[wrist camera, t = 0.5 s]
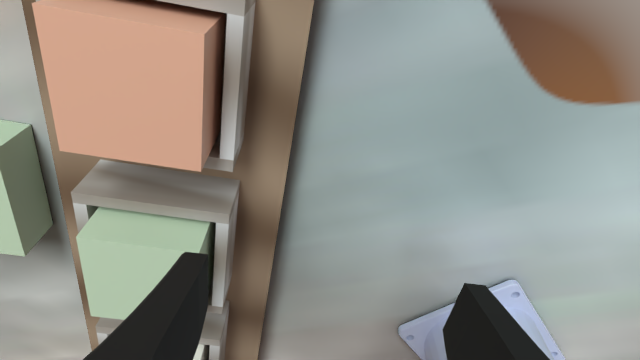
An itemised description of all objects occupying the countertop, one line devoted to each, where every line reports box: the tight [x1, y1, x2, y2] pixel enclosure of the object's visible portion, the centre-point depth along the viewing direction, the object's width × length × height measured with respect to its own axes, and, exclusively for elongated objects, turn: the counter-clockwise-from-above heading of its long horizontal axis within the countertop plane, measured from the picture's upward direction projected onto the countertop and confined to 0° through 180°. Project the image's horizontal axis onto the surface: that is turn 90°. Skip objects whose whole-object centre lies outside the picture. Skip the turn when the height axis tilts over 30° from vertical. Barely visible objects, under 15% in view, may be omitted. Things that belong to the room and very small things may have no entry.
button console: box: [22, 0, 314, 360], centre depth 19 cm, size 28×10×4 cm, turn 170°
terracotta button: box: [32, 0, 226, 172], centre depth 13 cm, size 4×4×3 cm
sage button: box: [76, 207, 215, 320], centre depth 17 cm, size 4×4×3 cm
